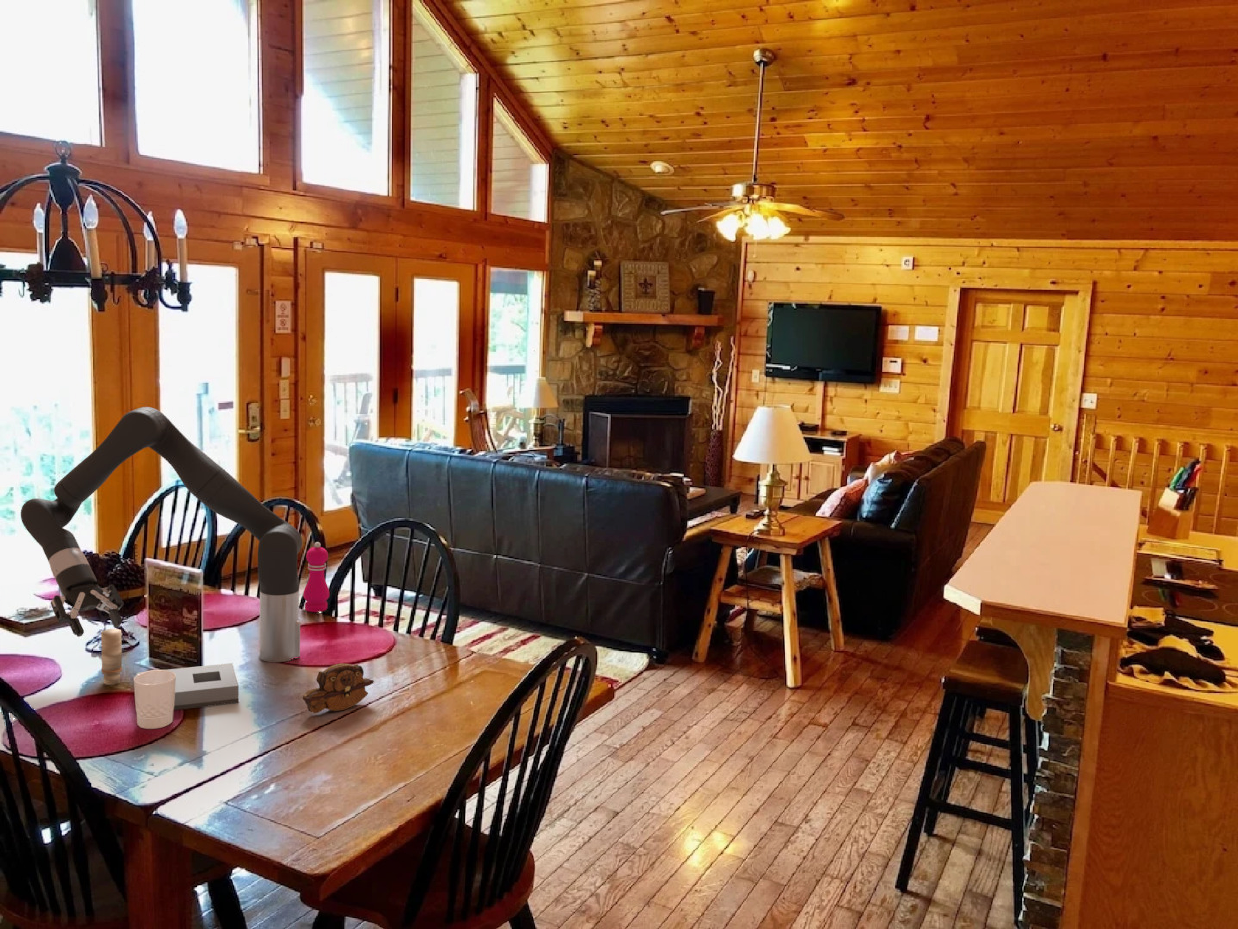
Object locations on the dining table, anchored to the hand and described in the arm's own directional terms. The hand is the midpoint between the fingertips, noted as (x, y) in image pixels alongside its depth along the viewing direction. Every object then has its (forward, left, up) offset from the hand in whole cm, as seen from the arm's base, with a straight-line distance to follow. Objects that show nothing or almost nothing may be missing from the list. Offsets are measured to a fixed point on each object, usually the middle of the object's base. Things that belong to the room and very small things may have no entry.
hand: (100, 630), depth 220 cm
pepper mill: (-54, -37, -11) cm, 67 cm away
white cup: (-11, +29, -11) cm, 33 cm away
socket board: (-17, +17, -11) cm, 27 cm away
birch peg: (-2, +4, -11) cm, 12 cm away
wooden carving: (-47, +34, -11) cm, 60 cm away
